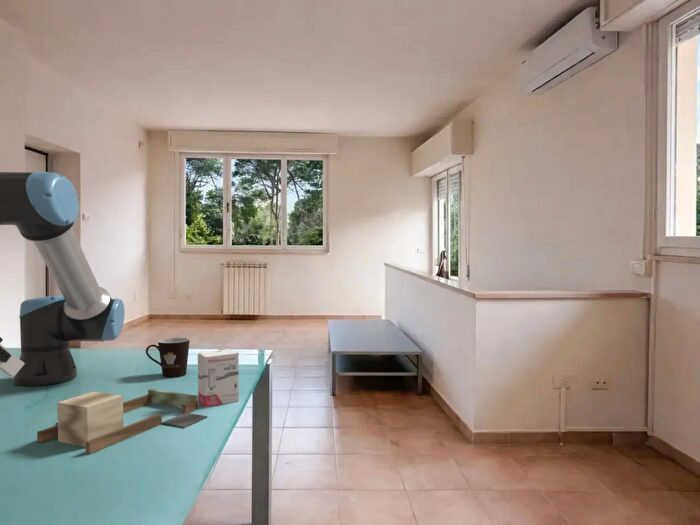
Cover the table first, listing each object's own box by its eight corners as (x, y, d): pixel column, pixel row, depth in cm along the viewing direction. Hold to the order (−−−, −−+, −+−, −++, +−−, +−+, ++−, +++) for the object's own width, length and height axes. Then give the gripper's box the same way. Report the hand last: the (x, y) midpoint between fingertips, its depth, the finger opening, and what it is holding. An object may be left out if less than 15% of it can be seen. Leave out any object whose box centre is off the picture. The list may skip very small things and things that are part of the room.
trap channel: (16, 437, 99) (16, 422, 99) (132, 398, 124) (132, 386, 124) (114, 459, 88) (114, 442, 88) (219, 412, 114) (219, 398, 114)
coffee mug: (196, 373, 150) (196, 338, 149) (175, 380, 142) (174, 344, 141) (166, 369, 154) (165, 336, 154) (143, 375, 147) (143, 340, 146)
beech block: (58, 441, 97) (57, 402, 97) (94, 428, 104) (94, 391, 104) (88, 448, 94) (87, 407, 93) (123, 433, 101) (122, 395, 101)
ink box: (203, 408, 117) (203, 356, 116) (197, 402, 121) (196, 352, 120) (240, 401, 122) (239, 351, 121) (232, 396, 126) (231, 348, 125)
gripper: (-150, 296, 74) (-23, 384, 89) (-100, 299, 68) (26, 392, 84) (-105, 259, 79) (8, 349, 94) (-56, 259, 73) (56, 354, 89)
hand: (16, 369), depth 89 cm, fingers closed
